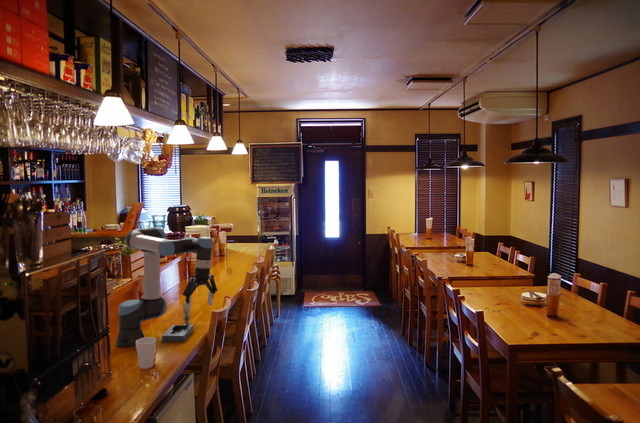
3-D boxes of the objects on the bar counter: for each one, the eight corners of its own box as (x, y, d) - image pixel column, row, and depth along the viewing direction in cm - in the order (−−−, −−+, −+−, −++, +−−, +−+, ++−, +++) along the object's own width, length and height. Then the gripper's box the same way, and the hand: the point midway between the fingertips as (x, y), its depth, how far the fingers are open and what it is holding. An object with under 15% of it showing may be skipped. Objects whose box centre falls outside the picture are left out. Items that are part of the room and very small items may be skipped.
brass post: (179, 325, 282) (179, 302, 281) (188, 323, 287) (188, 300, 286) (184, 327, 278) (184, 304, 277) (193, 325, 282) (193, 302, 282)
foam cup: (156, 368, 217) (156, 342, 216) (136, 371, 213) (135, 345, 213) (156, 361, 226) (155, 336, 225) (136, 363, 222) (135, 338, 221)
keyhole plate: (172, 330, 272) (172, 324, 271) (193, 330, 272) (193, 324, 272) (162, 342, 252) (161, 335, 252) (183, 342, 252) (183, 335, 252)
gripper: (186, 271, 216) (183, 313, 218) (226, 266, 236) (222, 304, 238) (177, 267, 221) (174, 309, 222) (217, 263, 241) (213, 301, 242)
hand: (199, 307), depth 230 cm, fingers open, 13 cm apart
